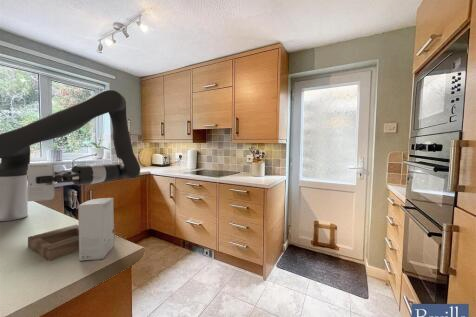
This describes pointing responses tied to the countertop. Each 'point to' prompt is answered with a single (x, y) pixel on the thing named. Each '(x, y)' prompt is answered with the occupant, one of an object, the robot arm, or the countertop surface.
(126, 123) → the robot arm
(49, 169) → the skincare box
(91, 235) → the skincare box
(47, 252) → the socket block
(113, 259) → the countertop surface
